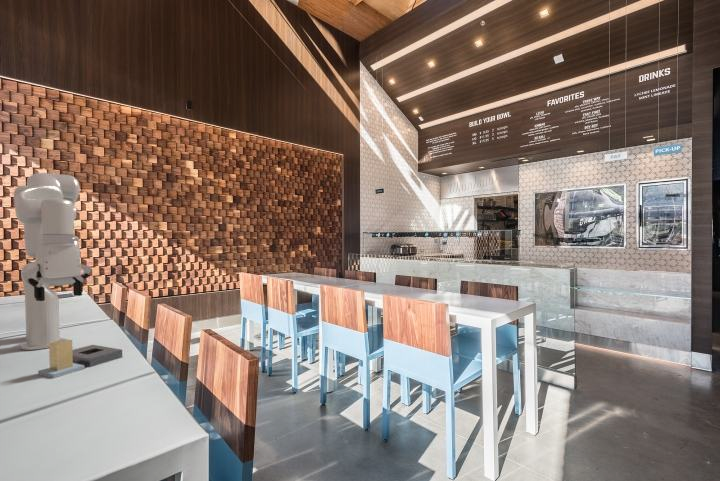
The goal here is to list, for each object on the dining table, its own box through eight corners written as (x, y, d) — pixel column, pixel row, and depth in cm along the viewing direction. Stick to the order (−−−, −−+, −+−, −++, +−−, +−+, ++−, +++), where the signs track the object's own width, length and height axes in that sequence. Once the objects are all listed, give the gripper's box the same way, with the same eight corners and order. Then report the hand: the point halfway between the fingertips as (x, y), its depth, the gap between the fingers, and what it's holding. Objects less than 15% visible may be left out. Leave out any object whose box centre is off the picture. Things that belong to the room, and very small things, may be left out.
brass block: (49, 369, 109) (49, 342, 109) (65, 364, 112) (64, 338, 112) (57, 371, 107) (56, 343, 107) (72, 366, 111) (72, 340, 111)
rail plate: (60, 360, 120) (59, 353, 120) (93, 351, 129) (92, 344, 129) (89, 366, 113) (89, 358, 113) (122, 357, 122) (122, 349, 122)
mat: (38, 374, 108) (38, 370, 108) (69, 365, 115) (69, 362, 115) (53, 377, 104) (53, 374, 104) (84, 368, 112) (84, 365, 112)
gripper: (82, 240, 119) (84, 293, 119) (14, 241, 103) (16, 302, 103) (96, 240, 116) (98, 294, 116) (29, 241, 100) (30, 303, 100)
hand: (59, 297), depth 110 cm, fingers open, 9 cm apart
